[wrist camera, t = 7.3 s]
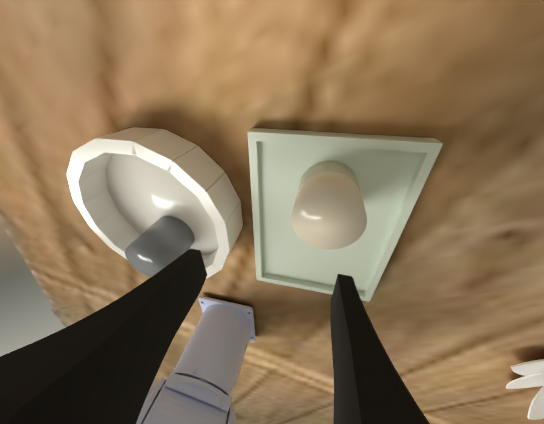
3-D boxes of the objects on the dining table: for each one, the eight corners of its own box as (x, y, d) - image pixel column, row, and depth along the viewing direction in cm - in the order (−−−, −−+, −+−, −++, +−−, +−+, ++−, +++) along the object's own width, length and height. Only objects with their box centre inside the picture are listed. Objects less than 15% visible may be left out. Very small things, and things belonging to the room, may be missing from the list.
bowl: (246, 266, 24) (236, 292, 22) (136, 246, 27) (114, 266, 24) (234, 133, 16) (213, 147, 13) (75, 123, 19) (30, 133, 16)
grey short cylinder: (198, 250, 23) (175, 282, 20) (163, 244, 24) (135, 274, 21) (189, 218, 21) (161, 249, 17) (151, 213, 22) (117, 241, 18)
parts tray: (367, 291, 22) (369, 301, 21) (259, 271, 24) (256, 279, 23) (434, 138, 13) (443, 143, 12) (252, 127, 15) (247, 131, 14)
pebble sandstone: (351, 215, 17) (357, 254, 13) (297, 208, 18) (289, 243, 14) (365, 163, 14) (377, 194, 11) (301, 158, 15) (293, 185, 12)
